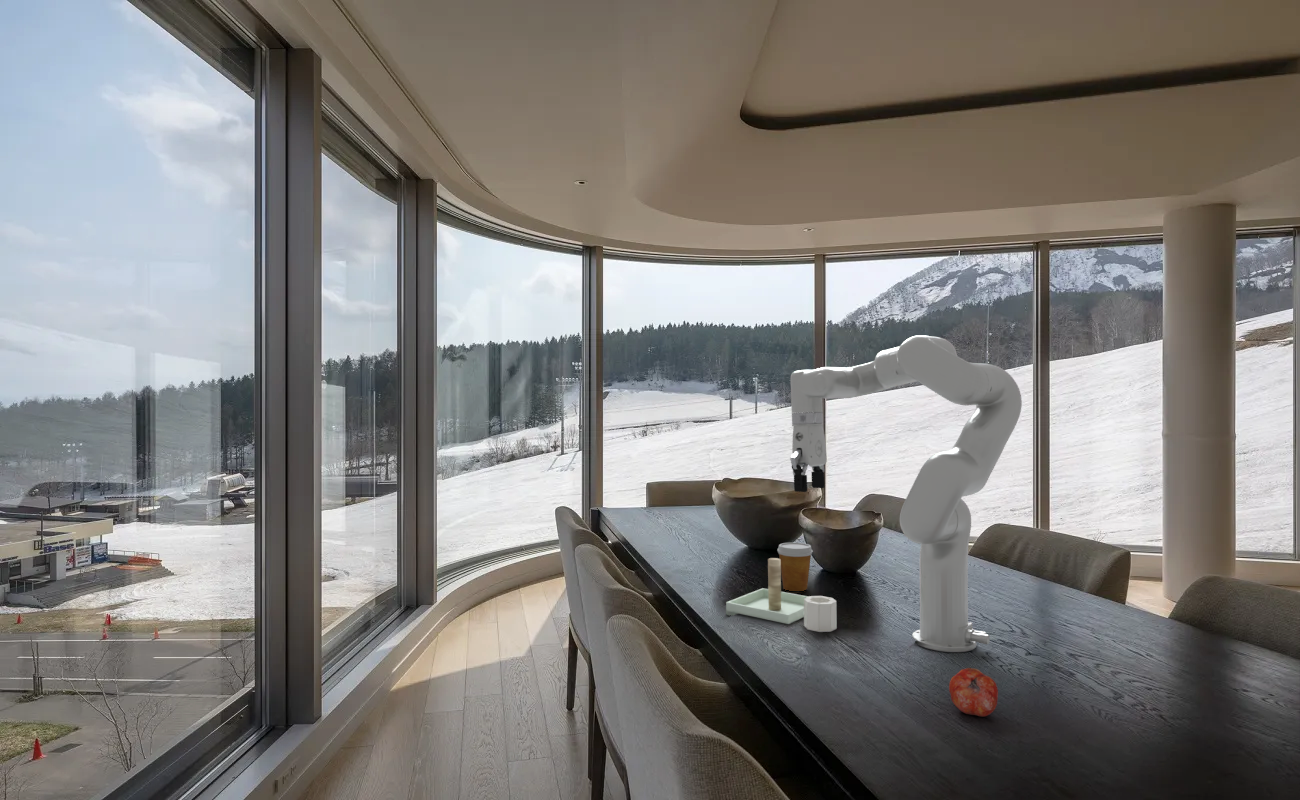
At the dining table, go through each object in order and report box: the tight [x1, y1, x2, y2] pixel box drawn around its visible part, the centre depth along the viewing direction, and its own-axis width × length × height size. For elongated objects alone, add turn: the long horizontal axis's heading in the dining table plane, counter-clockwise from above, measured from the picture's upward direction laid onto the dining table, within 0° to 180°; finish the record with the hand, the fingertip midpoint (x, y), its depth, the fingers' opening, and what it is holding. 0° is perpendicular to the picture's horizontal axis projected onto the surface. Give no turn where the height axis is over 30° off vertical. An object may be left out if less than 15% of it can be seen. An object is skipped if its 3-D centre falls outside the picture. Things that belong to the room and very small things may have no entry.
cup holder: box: [803, 595, 838, 633], centre depth 162 cm, size 7×7×7 cm
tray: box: [725, 587, 809, 625], centre depth 177 cm, size 17×17×3 cm
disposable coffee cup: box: [776, 542, 814, 592], centre depth 199 cm, size 10×10×12 cm
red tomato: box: [948, 667, 999, 717], centre depth 120 cm, size 7×7×10 cm
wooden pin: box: [767, 557, 782, 611], centre depth 177 cm, size 3×3×12 cm
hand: (809, 489), depth 179 cm, fingers open, 9 cm apart
